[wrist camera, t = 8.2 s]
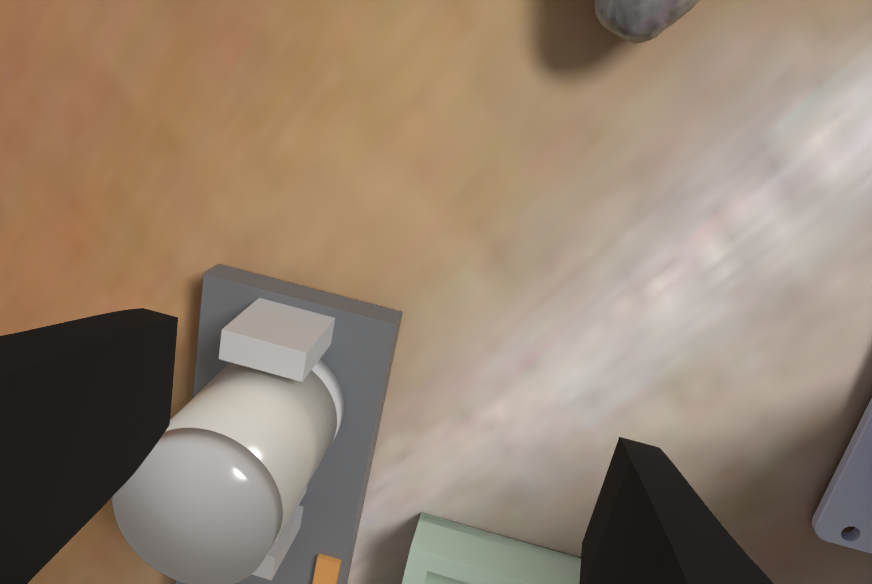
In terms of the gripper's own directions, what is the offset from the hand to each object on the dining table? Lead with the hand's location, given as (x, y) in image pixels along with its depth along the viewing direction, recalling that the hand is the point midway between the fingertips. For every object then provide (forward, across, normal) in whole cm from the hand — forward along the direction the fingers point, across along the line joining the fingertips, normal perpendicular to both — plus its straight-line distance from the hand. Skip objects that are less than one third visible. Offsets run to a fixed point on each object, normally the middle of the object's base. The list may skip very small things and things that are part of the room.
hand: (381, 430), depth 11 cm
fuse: (+9, +4, +6) cm, 12 cm away
